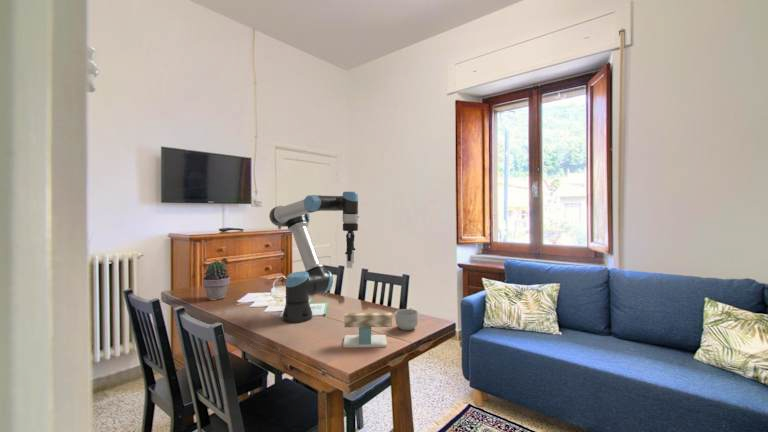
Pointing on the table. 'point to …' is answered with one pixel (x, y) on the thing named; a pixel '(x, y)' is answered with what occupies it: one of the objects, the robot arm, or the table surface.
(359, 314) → the beige mottled long block
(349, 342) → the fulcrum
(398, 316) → the teacup
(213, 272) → the potted plant
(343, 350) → the table surface
